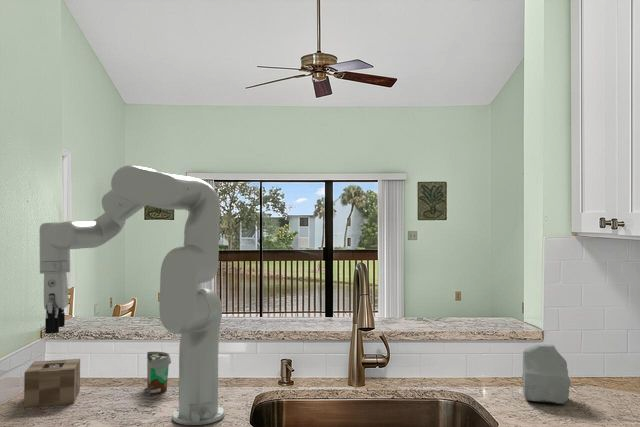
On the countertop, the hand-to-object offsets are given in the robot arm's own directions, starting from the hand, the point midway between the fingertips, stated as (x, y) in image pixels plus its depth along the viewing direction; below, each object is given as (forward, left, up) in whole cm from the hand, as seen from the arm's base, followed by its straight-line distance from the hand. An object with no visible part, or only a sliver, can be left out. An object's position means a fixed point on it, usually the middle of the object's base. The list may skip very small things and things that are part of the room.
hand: (55, 330), depth 153 cm
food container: (0, -28, -19) cm, 33 cm away
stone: (-38, -129, -19) cm, 135 cm away
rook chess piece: (0, 0, -18) cm, 18 cm away
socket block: (0, 0, -19) cm, 19 cm away
